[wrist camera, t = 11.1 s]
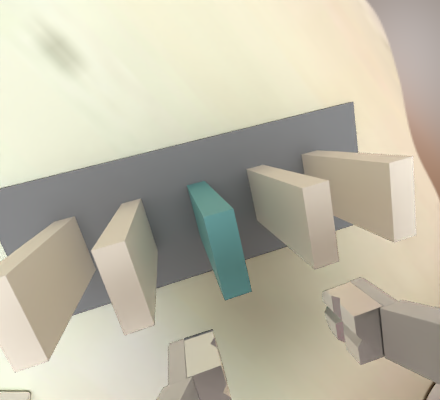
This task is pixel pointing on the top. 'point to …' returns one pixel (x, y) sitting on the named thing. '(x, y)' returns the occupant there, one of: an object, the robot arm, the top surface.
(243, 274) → the teal domino
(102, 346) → the top surface
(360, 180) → the ivory domino
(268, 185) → the ivory domino
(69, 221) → the ivory domino
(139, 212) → the ivory domino
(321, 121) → the slate mat
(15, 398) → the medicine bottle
